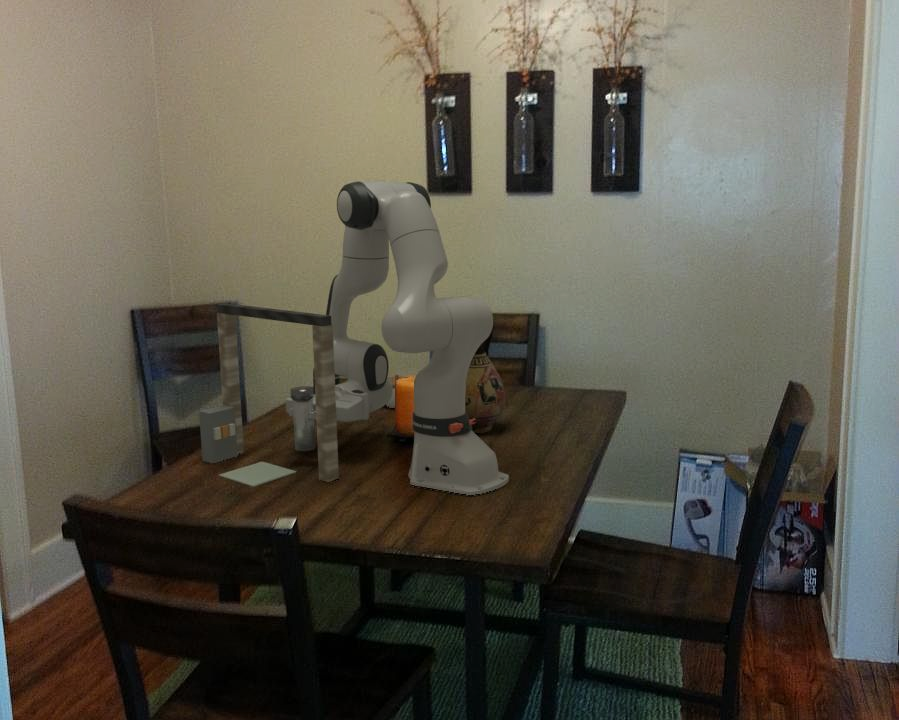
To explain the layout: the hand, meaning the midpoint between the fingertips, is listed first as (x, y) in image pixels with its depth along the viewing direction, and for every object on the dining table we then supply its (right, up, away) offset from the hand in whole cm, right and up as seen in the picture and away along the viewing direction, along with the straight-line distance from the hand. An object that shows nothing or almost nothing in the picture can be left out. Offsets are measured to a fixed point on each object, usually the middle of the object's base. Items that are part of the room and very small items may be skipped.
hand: (300, 414), depth 202 cm
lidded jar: (+19, -1, +55) cm, 58 cm away
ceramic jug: (+41, -6, +30) cm, 51 cm away
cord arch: (-5, -12, +2) cm, 13 cm away
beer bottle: (0, -3, +47) cm, 47 cm away
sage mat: (-9, -13, -4) cm, 16 cm away
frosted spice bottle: (+1, -8, +2) cm, 8 cm away
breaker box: (-20, -11, +7) cm, 24 cm away
